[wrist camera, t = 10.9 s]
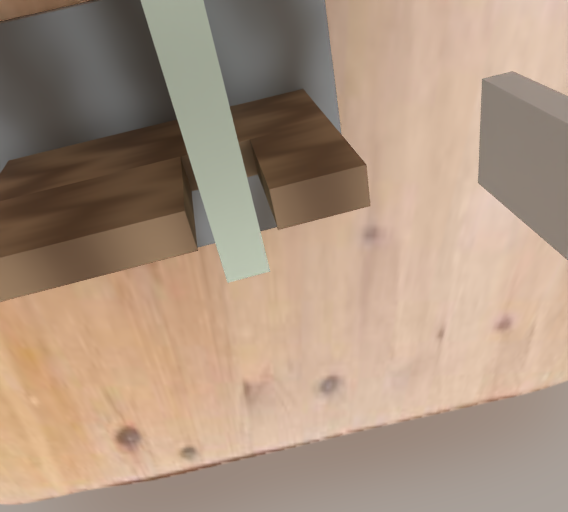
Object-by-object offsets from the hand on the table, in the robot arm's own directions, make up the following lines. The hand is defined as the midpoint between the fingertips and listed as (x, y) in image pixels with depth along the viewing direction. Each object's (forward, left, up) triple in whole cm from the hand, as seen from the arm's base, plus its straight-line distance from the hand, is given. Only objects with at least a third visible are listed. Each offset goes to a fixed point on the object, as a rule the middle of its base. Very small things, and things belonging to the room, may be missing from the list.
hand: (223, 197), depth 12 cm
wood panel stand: (+5, -3, -21) cm, 22 cm away
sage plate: (+1, 0, -20) cm, 20 cm away
